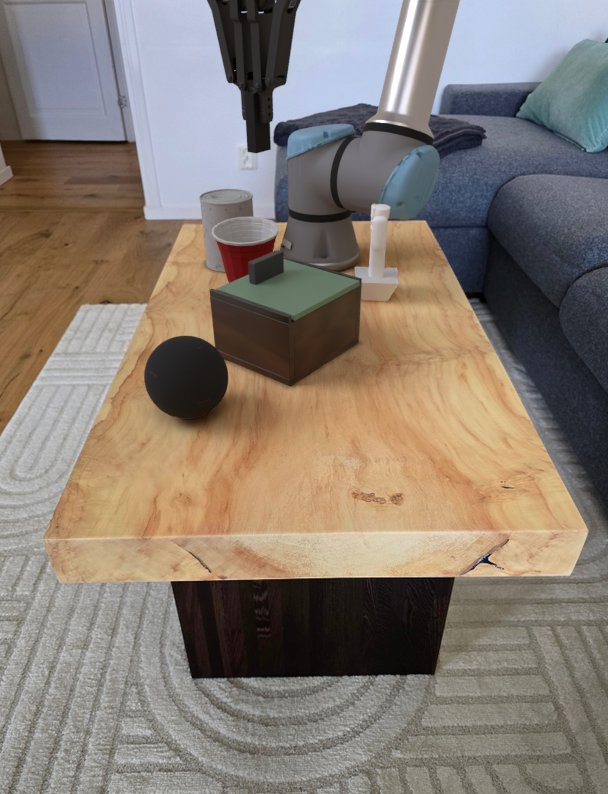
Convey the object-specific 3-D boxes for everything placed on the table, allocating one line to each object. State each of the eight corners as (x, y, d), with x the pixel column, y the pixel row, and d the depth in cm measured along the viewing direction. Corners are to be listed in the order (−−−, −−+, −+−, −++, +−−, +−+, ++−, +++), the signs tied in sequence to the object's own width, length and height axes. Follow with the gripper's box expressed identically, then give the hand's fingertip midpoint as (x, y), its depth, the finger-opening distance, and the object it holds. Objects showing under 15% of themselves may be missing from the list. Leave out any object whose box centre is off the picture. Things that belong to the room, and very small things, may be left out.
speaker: (240, 395, 83) (234, 324, 77) (218, 439, 75) (210, 364, 69) (167, 388, 84) (156, 318, 78) (138, 430, 76) (123, 357, 70)
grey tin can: (233, 250, 126) (228, 186, 119) (266, 262, 121) (263, 195, 114) (195, 263, 121) (188, 196, 113) (229, 276, 116) (223, 207, 108)
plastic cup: (210, 310, 104) (203, 236, 97) (225, 284, 113) (219, 215, 105) (275, 313, 103) (273, 239, 96) (286, 287, 111) (284, 217, 104)
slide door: (284, 264, 95) (283, 238, 93) (359, 286, 88) (361, 259, 86) (216, 293, 86) (214, 266, 84) (294, 321, 79) (294, 292, 77)
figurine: (395, 285, 112) (402, 197, 103) (396, 307, 104) (404, 214, 95) (354, 284, 112) (358, 196, 103) (352, 306, 105) (356, 213, 96)
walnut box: (287, 317, 101) (285, 256, 95) (358, 342, 94) (362, 278, 88) (215, 355, 91) (208, 289, 85) (290, 386, 84) (288, 317, 78)
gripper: (177, -97, 66) (201, 149, 80) (271, -106, 59) (279, 163, 74) (227, -93, 71) (241, 139, 85) (320, -100, 64) (318, 152, 78)
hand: (259, 150), depth 79 cm, fingers closed
